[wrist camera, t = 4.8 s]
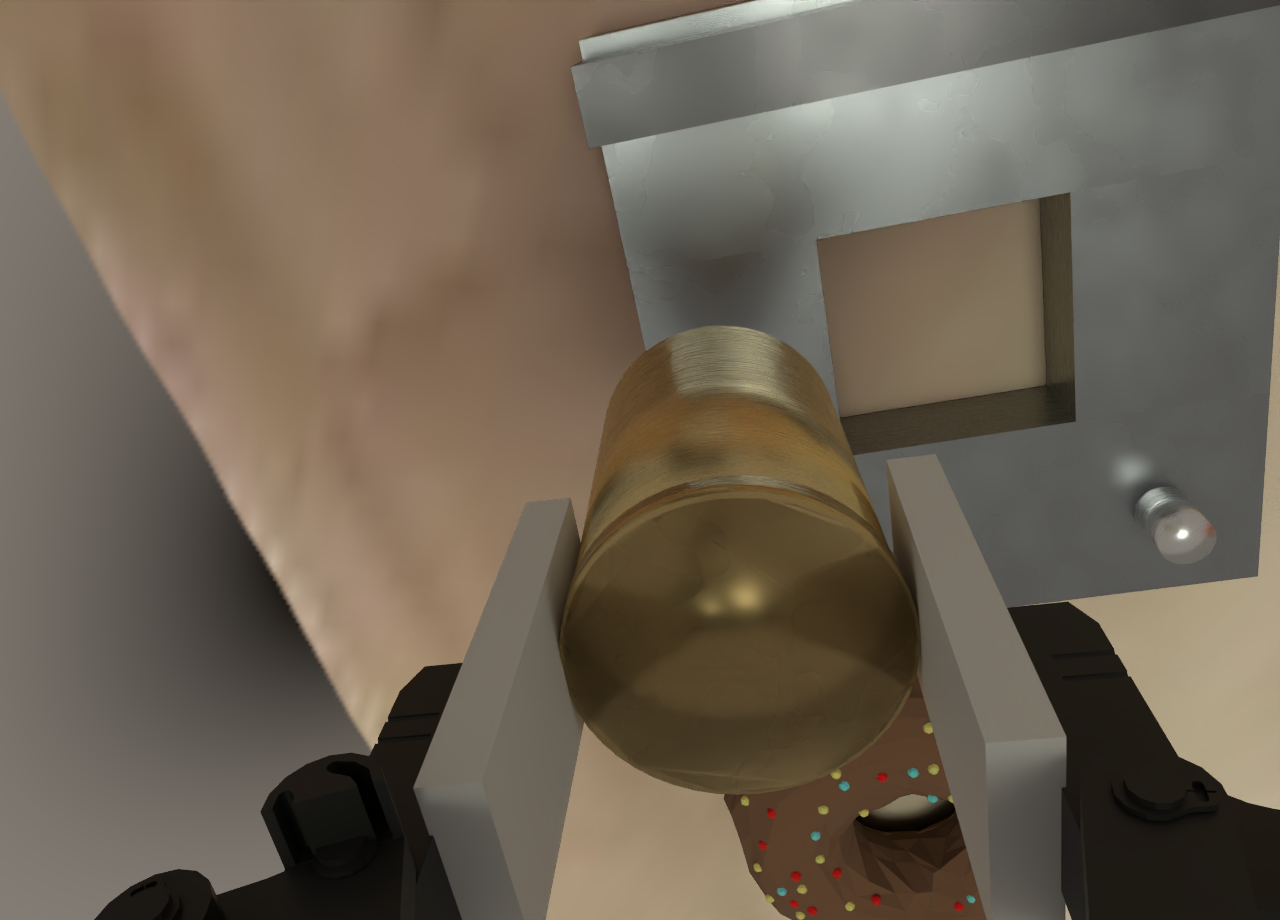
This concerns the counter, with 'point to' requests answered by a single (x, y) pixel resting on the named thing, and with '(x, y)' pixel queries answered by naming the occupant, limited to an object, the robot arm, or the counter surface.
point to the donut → (862, 837)
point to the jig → (975, 179)
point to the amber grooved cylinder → (734, 575)
